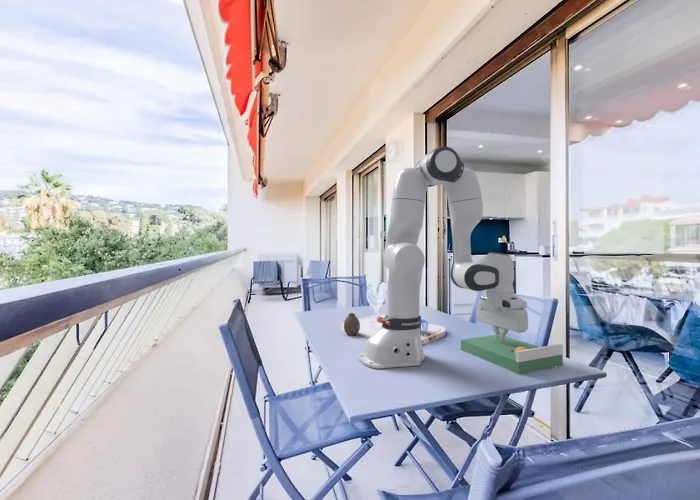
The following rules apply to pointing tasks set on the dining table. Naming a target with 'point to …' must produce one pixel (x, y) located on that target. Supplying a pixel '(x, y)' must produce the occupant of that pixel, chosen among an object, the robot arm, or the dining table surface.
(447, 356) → the dining table surface
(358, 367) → the dining table surface
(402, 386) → the dining table surface
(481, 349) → the green
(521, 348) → the ball
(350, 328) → the vase
